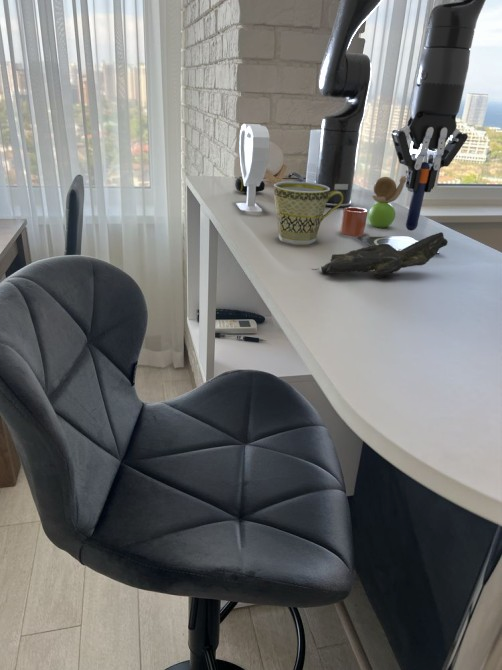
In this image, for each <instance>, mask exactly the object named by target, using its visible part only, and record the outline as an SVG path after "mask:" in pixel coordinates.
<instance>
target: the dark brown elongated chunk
mask: <svg viewBox="0 0 502 670" xmlns="http://www.w3.org/2000/svg"><path fill="white" fill-rule="evenodd" d="M444 236H445V235H444V232H442V231H440V232H436V233H433V234H432V235H429V236H426V237H425V238H422V239H419V240H417V241H418V242H416V243H414V244H412V245H410V246H408V247H406V248H404V249H403V250H401V251H397V250H395V249H394V248H393V247H392V246H391V245H389V244H380V245H375V246H365V247H361V248H357V249H353V250H350V251H348V252H347V253H339V254H337V253H335V254H332V255H331V258H330V261H329V262H327V263H325V265H323V266H320V270H321V272H322V274H329V273H333V274H343V273H346V274H347V273H355V272H356V273H360V272H361V273H368V272H373V273H372V274H373V275H374V277H377V278H379V279H380V278H383V277H385V276H388V275H391V274H394V273H397V272H398V271H400V270H401V269H402V268H408V267H420V266H424V265H427V263H428V262H429V261H430V260H431V259H432V258H434V257H435V256H436V255H437V254H436V253H437V252H439V250H440V249H441V248H444V247H446V246H447V245H448V243H449V242H448V239H446V238H445V237H444Z"/></svg>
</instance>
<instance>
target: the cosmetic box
mask: <svg viewBox="0 0 502 670" xmlns="http://www.w3.org/2000/svg"><path fill="white" fill-rule="evenodd" d="M320 134H321V129H310V134H309V144H308V153H307V154H308V155H307V165H306V175H305V182H309V183H315V181H316V173H317V163H318V154H319V144H320Z"/></svg>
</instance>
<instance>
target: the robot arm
mask: <svg viewBox="0 0 502 670" xmlns="http://www.w3.org/2000/svg"><path fill="white" fill-rule="evenodd" d="M382 2H383V0H340V1H339V5H338V7H337V12H336V16H335V19H334V23H333V25H332V30H331V33H330V36H329V39H328V43H327V45H326V48H325V51H324V54H323V57H322V61H321V65H320V69H319V74H318V90H319V93H320V94H321V96H323V97H325V98H332V99H334V98H335V99H345V102H344V105H342V106H341V107H340V108H339V109H338V110H335V111H334V112H330V113H328V114H325V115H324V116H323V117H322V119H321V124H320V130H321V134H320V144H319V154H318V163H317V173H316V181H315V183H316V184H321V185H325V186H327V187H329V188H330V192H331V191H340V192H341V193H342V194H343V198H344V199H343V202H342V204H341V205H340V206H339V207H338V208H346V207H350V206H351V204H352V194H353V193H352V192H353V187H354V179H355V173H356V172H355V171H356V165H357V157H358V150H359V143H360V135H361V127H362V123H363V120H364V117H365V111H366V106H367V100H368V95H369V90H370V86H371V78H372V61H371V59H370V57H369V56H368V55H367V54H365V53H358V52H347V51H348V49H349V47H350V45H351V42H352V39H353V38H354V36H355V35H356V33H357V31H358V30H359V28H360V27H361V26H362V24H363V23H364V22H365V21H366V20H367V19H368V18H369V17H370V15H372V13H373V12H374V11H375V10H376V9H377V8H378V7H379V5H380V4H381V3H382ZM486 2H487V1H486V0H454V1H449V2H444V3H441V4H437V5H435V6H434V7H433V8H432V10H431V12H430V14H429V17H428V23H427V29H426V32H425V33H426V34H425V39H424V45H423V50H422V54H421V57H420V61H419V64H418V69H417V73H416V80H415V85H414V91H413V97H412V102H411V108H410V110H411V111H410V112H411V115H410V117H409V119H408V121H407V122H406V125H405V126H403V127H401V128H399V129H393V130H392V131H391V138H392V142H393V146H394V149H395V152H396V156H397V159H398V163H399V164H401V165H404V166H406V167H407V171H408V173H407V175H406V178H407V179H406V182H405V187H406V189H407V191H408V192H411V193H413V192H417V189H418V184H419V179H420V174H421V170H419V169H420V168H421V165H422V162H424V158H425V156H426V155H427V156H426V162H427V163H428V164H429V165H430V171H429V176H428V180H427V183H426V188H425V192H424V193H431V191H432V190H433V189H434V187H435V185H436V180H437V175H438V171H439V170H440V169H441V168H444V167H446V168H447V167H449V166H450V165H451V163H452V162H453V160H454V159H455V158H456V156H457V155H458V153H459V151H460V150H461V148H462V147H463V146H464V144H465V143H466V141H467V140H468V138H469V136H468V134H467V133H465V132H461V131H460V130H459V129H458V128H457V116H458V114H459V112H460V109H461V104H462V99H463V94H464V89H465V86H466V81H467V76H468V71H469V67H470V58H471V57H470V56H471V50H472V44H473V40H474V36H475V31H476V27H477V22H478V19H479V16H480V15H481V12H482V10H483V8H484V5H485V3H486ZM410 139H411V143H410V146H409V143H408V140H410ZM447 141H448V142H447ZM446 142H447V144H446ZM291 173H292V172H291ZM293 176H294V177H296V178H298V179H295V180H293V181H294V182H304V178H303V177H302V176H301V174H299V173H297V172H294V171H293V173H292V175H290V173H288V174H287V178H292V177H293ZM340 201H341V196H340V195H339V194H335V195H333V196H331V197H330V198H329V200H328V201H327V203H326V206H325V207H332V208H333V207H335V206H336V205H338V204H339V203H340Z"/></svg>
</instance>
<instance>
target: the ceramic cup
mask: <svg viewBox="0 0 502 670" xmlns="http://www.w3.org/2000/svg"><path fill="white" fill-rule="evenodd" d="M335 194H339V195H340V196H341V201H340V203H339V204H338V205H336V206H335V207H332V208H330V209H329V210H328V211H327V212H326V213H325V209H326V207H327V206H326V203H327V201H328V200H329V198H330V197H331V196H333V195H335ZM273 195H274V204H275V210H276V222H277V233H278V239H279V240H280V241H281V242H283V243H287V244H291V245H310V244H313V243H315V242H316V241H317V238H318V233H319V230H320V226H321V224H322V222H323V220H324V219H326V218H327V217H329V215H330V214H331V213H333V211H335V210H336V209H338V208H340V207H339V206H340V205H341V204H342V202H343V199H344V198H343V194H342V193H341V192H340V191H331V192H330V188H329V187H327V186H325V185H321V184H316V183H309V182H306V181H302V182H294V180H292V181H279V182H276V183H274V184H273ZM324 213H325V214H324Z"/></svg>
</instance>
